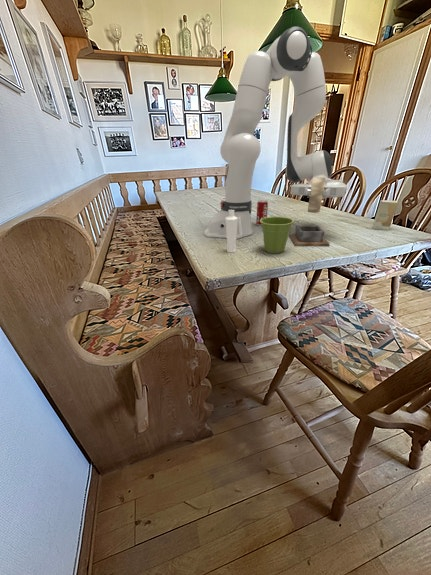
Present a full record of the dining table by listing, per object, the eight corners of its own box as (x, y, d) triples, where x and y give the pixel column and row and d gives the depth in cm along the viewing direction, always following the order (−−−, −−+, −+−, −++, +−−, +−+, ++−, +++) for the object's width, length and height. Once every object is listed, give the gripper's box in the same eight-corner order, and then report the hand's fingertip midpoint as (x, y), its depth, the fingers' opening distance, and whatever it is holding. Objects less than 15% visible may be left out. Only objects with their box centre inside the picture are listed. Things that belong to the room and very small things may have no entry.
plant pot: (281, 243, 99) (284, 215, 94) (296, 254, 89) (300, 222, 83) (253, 246, 97) (255, 217, 92) (265, 257, 87) (267, 225, 81)
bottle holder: (294, 246, 96) (296, 233, 94) (288, 236, 107) (290, 224, 105) (329, 246, 95) (331, 233, 93) (319, 236, 106) (321, 224, 104)
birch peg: (309, 212, 94) (314, 178, 88) (306, 210, 97) (311, 177, 92) (321, 212, 93) (327, 178, 87) (317, 210, 97) (323, 177, 91)
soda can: (266, 223, 127) (267, 199, 122) (266, 226, 123) (268, 201, 117) (255, 223, 128) (257, 199, 122) (256, 226, 123) (257, 201, 118)
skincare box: (373, 229, 113) (381, 201, 107) (372, 226, 116) (379, 199, 110) (389, 230, 111) (398, 202, 105) (388, 227, 114) (396, 200, 108)
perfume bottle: (229, 253, 91) (229, 212, 84) (223, 250, 94) (222, 210, 87) (239, 251, 93) (240, 210, 85) (233, 248, 96) (234, 208, 89)
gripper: (293, 179, 104) (288, 182, 93) (346, 180, 97) (348, 184, 86) (291, 195, 107) (286, 200, 96) (342, 196, 100) (344, 202, 89)
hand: (316, 192), depth 91 cm, fingers closed on birch peg, 4 cm apart
